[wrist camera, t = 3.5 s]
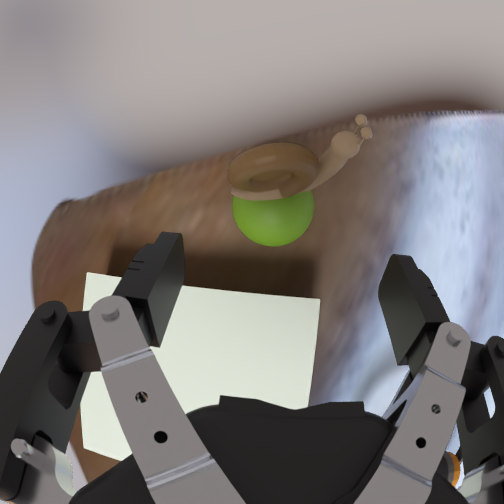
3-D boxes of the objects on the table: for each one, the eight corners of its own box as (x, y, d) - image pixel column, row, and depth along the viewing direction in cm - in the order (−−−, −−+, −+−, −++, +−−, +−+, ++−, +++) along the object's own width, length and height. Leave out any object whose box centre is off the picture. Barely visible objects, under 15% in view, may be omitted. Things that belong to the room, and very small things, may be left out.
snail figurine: (326, 243, 22) (393, 182, 10) (241, 258, 22) (225, 207, 10) (310, 176, 23) (350, 75, 11) (229, 189, 23) (206, 89, 11)
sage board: (311, 299, 22) (320, 299, 19) (288, 468, 19) (292, 487, 16) (105, 276, 22) (87, 272, 19) (100, 435, 20) (83, 447, 17)
